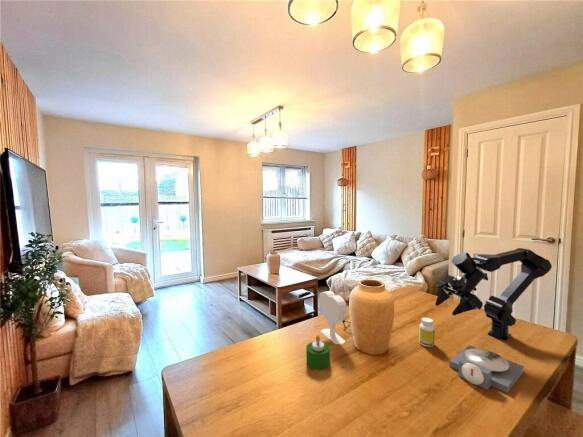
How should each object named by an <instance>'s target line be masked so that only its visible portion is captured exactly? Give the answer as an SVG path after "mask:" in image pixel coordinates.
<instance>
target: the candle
mask: <svg viewBox="0 0 583 437" xmlns="http://www.w3.org/2000/svg"><path fill="white" fill-rule="evenodd" d="M305 350H306V354H305V356H306V357H305V358H306V366H308V367H309V368H311V369H312V370H316V371H321V370H325V369H328V368H329V367H330V365H331V348H330V345H329V344H328V343H327V342H323V341H321V336H320V335H316V337H315V341H312V342H309V343H307V345H306V347H305Z"/></svg>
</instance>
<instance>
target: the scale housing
mask: <svg viewBox="0 0 583 437" xmlns="http://www.w3.org/2000/svg"><path fill="white" fill-rule="evenodd" d="M468 349H479V348H478V347H475V346H472V345H470V344H469V345H467V347H465V348H463V350H461V351H460V352H458V354H456V355H454V357H452V358H451V359H450V360H449V367H450V368H452V369H454V370H457V371H458V374H457V376H458V377H459V378H462V379H463V380H466V381H468V382H469V383H471V384H473V385H477V386H478V387H481V388H482V389H485V390H487V391H488V390H489V389H490V387H493V388H494V389H497V390H498V391H502V392H503V393H506V394H508V393H509V392H510V391H511V389H512V388H513V387H514V385H515V384H516V383H517V382H518V380H519V378H520V377H521V376H522V375H523V374H524V372H525V365H523V364H520V363H517V362H514V361H511V360H509V359H507V358H505V359H506V360H507V361H508V363H509V370H508V371H506V372H492V370H490V369H488V368H485V367H483V366H481V365H478V364H476V363H474V362H471V361H469V360H467V359H466V358H465V351H466V350H468Z"/></svg>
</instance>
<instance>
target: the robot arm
mask: <svg viewBox="0 0 583 437" xmlns="http://www.w3.org/2000/svg"><path fill="white" fill-rule="evenodd" d="M516 262H520V263H521V264H520V267H521V268H520V272H519V273H518V274H517V275H516V277H515V278H514V279H513V280H512V281H511V282H510V284H509V285H507V287H505V289H504V290H503V291H502V292H501V294H499V295H498V296H494V295H490V296H489V297H488V299H487V300H486V301H484V302H485V304H484V303H483V302H482V300H481V299H480V298H479V297H478V296H477V295H476V294H474V293H472V292H473V291H474V292H477V290H478V289H477V286H478V285H479V284H480V282H481V281H482V280H484V281H486V282H487V281H489V276H488V273H486V272H489V273H493V272H496V271H497V270H499V269H501V267H502V266H504V265H508V264H512V263H516ZM451 263H452V264H453V265H454V266H455V267H456V268H457V270H458V271H459V272H460V273H461V274H463V275H461V276H456V277H455V276H454V275H450V274H447V273H446V274H445V276H444V278H443V280H439V281H437V283H436V284H435V286H436V287H437V289H438V295H437V298H436V301H435V306H436V307H438V306H440V305H442V304H443V303H444V302H445V301H447V300H448V299H450V298H451V296H452V295H454V296H456V297H459V298H460V299H459V300H460V301H459V303H458V304H457V305H456V307H455V308H454V309H453V311H452V313H451V314H452V315H453V316H457V315H460V314H463V313H466V312H469V311H473V310H474V311H476V310H479V311H480V310H481V309H482V307H483V311H484V313H485V315H486V318H489V319H491V321H490V323H491V324H490V325H491V328H490V330H489V331H488V332H487V335H489V336H491V337H492V336H493V337H495V338H499V339H501V340H504V341H508V340H509V339H510V338H511V337H512V334H511V333H509V329H510V327H513V326H514V325H515V324H516V322H517V319H516V318H515V317H514V316H513V315H512V313H513V305H514V304H515V302H516V301H517V300H518V299H519V297H520V296H521V295H522V294H523V293H524V292H525V291H526V290H527V289H528V287H529V286H530V285H531V284H532V283H533V282H534V280H536V279H538V278H542V277H544V276H545V275H547V274H548V273H549V272H550V271H551V269H552V266H553V265H552V263H551V261H550V260H549V259H547V258H545V257H543V256H541V255H539V254H537V253H535V252H534V251H533V250H532V249H530V248H529V249H528V248H521V247H519V248H518V247H517V248H516V249H513V250H512V249H511V250H508V251H504V252H500V253H496V254H489V253H487V254H485V253H484V254H477V255H475V256H474V257H472V256H471V255H470V253H469V252H466V251H463V252H462V253H458V254H456V255H455V256H453V257H452V258H451ZM484 271H485V272H484Z"/></svg>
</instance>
